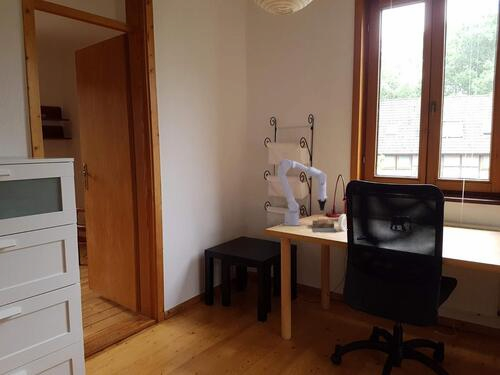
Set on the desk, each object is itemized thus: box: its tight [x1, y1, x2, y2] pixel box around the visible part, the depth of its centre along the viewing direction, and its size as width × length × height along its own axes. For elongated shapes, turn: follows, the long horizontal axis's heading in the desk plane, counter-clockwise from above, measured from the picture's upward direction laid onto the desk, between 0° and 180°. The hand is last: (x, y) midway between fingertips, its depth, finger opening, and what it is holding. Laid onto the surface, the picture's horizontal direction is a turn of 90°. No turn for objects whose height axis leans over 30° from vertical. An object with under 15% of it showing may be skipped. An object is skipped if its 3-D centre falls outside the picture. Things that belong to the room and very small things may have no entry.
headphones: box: [337, 213, 347, 232], centre depth 241 cm, size 22×2×10 cm, turn 139°
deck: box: [312, 219, 335, 229], centre depth 250 cm, size 13×11×3 cm
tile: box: [317, 216, 329, 223], centre depth 250 cm, size 6×9×2 cm, turn 173°
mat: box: [312, 227, 338, 233], centre depth 239 cm, size 14×10×1 cm
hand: (322, 210), depth 259 cm, fingers closed
